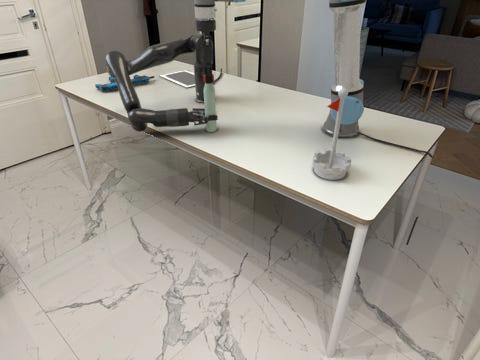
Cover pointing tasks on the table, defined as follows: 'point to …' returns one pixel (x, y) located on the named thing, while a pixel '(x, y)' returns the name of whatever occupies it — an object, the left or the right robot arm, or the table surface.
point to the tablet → (181, 78)
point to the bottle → (210, 106)
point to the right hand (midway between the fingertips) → (208, 80)
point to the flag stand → (333, 149)
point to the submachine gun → (113, 83)
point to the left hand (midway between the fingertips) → (216, 115)
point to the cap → (205, 78)
